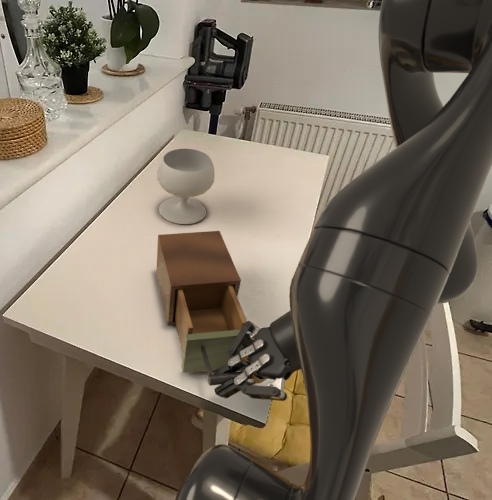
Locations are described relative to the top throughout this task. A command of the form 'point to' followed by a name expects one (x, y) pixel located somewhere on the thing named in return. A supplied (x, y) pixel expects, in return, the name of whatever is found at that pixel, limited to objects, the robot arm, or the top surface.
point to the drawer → (208, 328)
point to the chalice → (185, 184)
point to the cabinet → (192, 265)
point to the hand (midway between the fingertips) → (216, 387)
